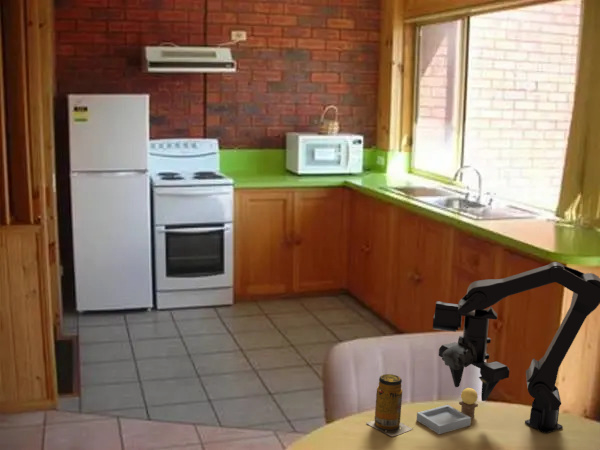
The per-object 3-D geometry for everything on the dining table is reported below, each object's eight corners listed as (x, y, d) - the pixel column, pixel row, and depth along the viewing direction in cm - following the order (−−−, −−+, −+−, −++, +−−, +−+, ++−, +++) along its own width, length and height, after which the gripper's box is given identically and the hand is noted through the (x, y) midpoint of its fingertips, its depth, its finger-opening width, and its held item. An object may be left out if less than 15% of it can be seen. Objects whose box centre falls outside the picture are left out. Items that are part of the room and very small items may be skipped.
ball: (468, 399, 186) (470, 384, 186) (480, 405, 183) (481, 390, 182) (456, 402, 184) (458, 387, 184) (468, 408, 181) (469, 393, 180)
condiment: (387, 416, 182) (390, 370, 179) (413, 429, 175) (416, 381, 173) (365, 423, 177) (368, 376, 175) (391, 438, 171) (395, 389, 168)
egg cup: (467, 410, 186) (468, 398, 186) (476, 416, 184) (478, 403, 183) (458, 413, 185) (459, 401, 184) (467, 418, 182) (468, 406, 181)
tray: (447, 411, 185) (447, 404, 185) (470, 425, 179) (470, 417, 178) (416, 420, 180) (417, 412, 180) (439, 434, 173) (439, 426, 173)
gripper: (424, 326, 184) (419, 385, 187) (479, 351, 168) (473, 415, 171) (457, 320, 189) (452, 378, 192) (513, 344, 174) (507, 406, 177)
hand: (469, 393), depth 183 cm, fingers open, 9 cm apart
